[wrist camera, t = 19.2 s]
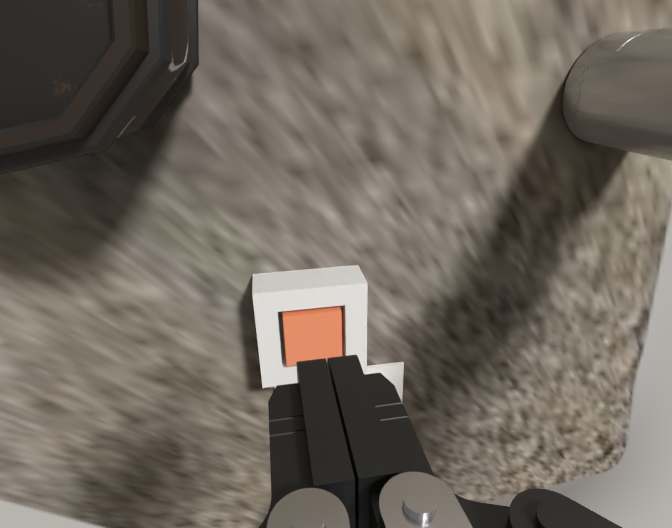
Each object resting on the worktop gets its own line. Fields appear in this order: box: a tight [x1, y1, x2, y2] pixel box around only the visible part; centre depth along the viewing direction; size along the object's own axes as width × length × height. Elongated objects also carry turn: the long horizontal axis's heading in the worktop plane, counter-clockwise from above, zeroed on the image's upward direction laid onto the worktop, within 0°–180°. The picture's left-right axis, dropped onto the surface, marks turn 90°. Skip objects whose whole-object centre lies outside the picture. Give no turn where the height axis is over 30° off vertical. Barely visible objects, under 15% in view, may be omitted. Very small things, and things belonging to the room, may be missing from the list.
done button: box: [282, 306, 342, 366], centre depth 41 cm, size 5×5×3 cm
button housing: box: [252, 265, 367, 388], centre depth 42 cm, size 10×10×4 cm
